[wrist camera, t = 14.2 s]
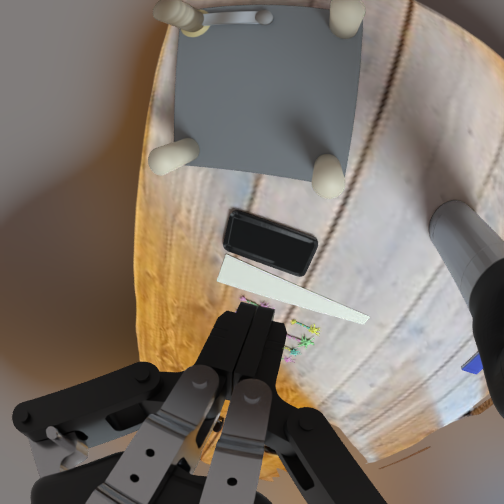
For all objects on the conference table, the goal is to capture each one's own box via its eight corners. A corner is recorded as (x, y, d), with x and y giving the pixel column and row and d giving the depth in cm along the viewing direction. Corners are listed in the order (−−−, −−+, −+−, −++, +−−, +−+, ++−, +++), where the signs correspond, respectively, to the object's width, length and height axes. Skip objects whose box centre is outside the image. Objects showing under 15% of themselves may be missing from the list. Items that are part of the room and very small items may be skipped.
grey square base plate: (360, 22, 24) (372, -6, 15) (341, 182, 37) (346, 208, 28) (190, 16, 29) (151, -2, 19) (183, 160, 42) (144, 179, 33)
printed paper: (370, 315, 48) (370, 321, 47) (302, 383, 66) (301, 388, 64) (226, 253, 49) (224, 257, 48) (196, 341, 66) (194, 345, 65)
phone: (231, 210, 44) (319, 241, 42) (233, 207, 44) (320, 238, 43) (221, 249, 48) (303, 279, 47) (224, 246, 49) (303, 275, 48)
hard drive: (494, 339, 42) (461, 370, 49) (507, 346, 41) (476, 374, 48) (492, 334, 43) (460, 365, 50) (505, 341, 43) (475, 370, 49)
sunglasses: (219, 424, 93) (214, 434, 89) (194, 409, 94) (189, 418, 90) (229, 419, 87) (223, 429, 83) (202, 402, 88) (195, 412, 84)
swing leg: (274, 8, 24) (261, -14, 17) (272, 30, 26) (258, 11, 19) (184, 13, 26) (154, -1, 19) (181, 33, 28) (151, 23, 21)
